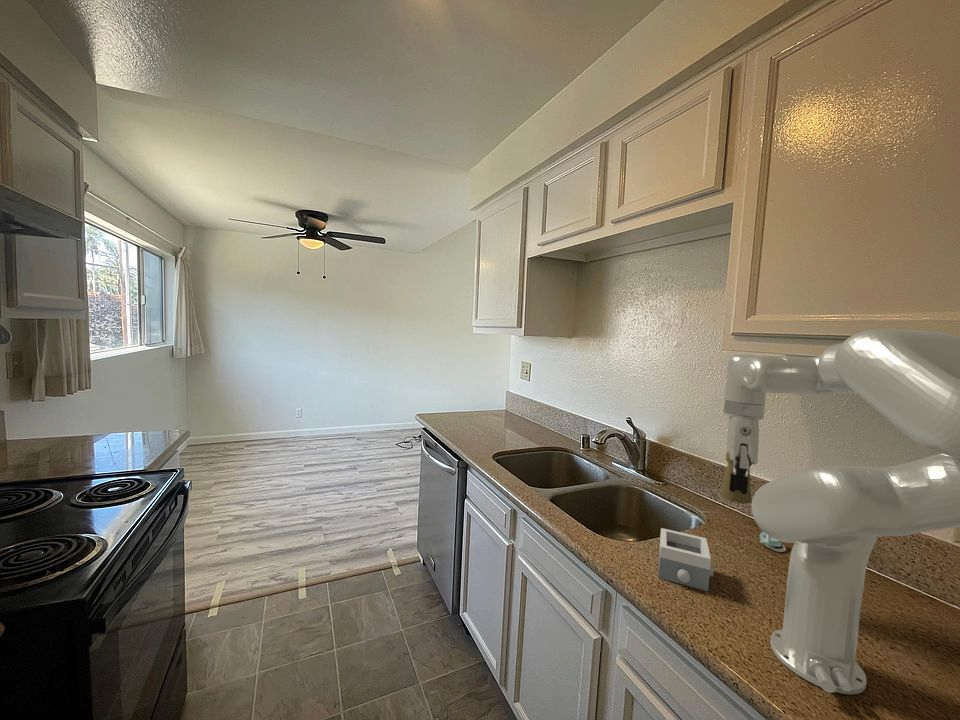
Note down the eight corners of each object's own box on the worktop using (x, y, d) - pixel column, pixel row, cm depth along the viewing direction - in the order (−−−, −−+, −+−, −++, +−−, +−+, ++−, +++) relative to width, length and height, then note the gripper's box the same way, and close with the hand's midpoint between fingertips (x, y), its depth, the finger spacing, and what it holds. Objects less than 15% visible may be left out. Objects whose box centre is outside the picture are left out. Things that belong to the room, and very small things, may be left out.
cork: (750, 506, 84) (755, 456, 83) (718, 497, 88) (722, 450, 87) (752, 497, 89) (757, 450, 88) (722, 490, 93) (726, 445, 92)
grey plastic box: (715, 596, 84) (717, 563, 83) (658, 580, 89) (660, 549, 88) (709, 569, 94) (711, 539, 94) (658, 556, 99) (661, 528, 98)
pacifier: (785, 545, 107) (759, 537, 111) (788, 524, 107) (761, 516, 111) (786, 556, 102) (758, 547, 105) (789, 534, 101) (761, 526, 105)
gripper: (772, 418, 78) (763, 506, 79) (757, 406, 93) (750, 480, 94) (728, 413, 81) (720, 498, 82) (720, 402, 96) (714, 474, 97)
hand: (736, 488), depth 88 cm, fingers closed on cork, 3 cm apart
